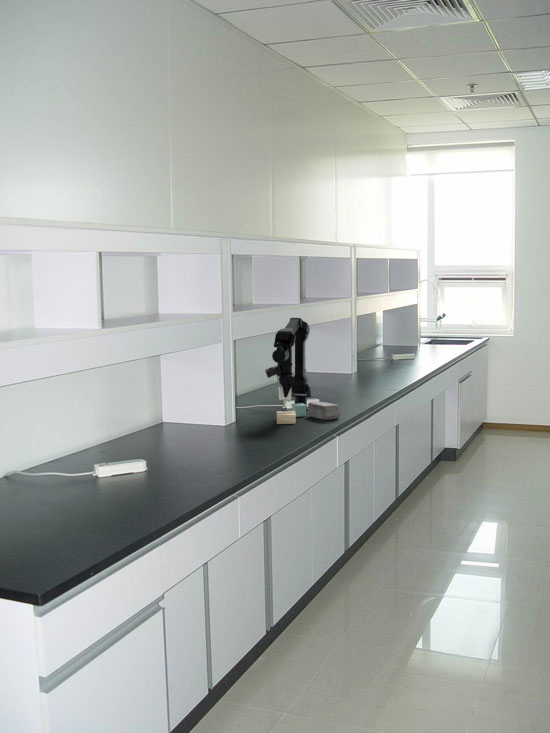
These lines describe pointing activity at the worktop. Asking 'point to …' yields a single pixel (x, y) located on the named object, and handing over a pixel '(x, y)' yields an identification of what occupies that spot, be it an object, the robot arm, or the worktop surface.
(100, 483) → the worktop surface
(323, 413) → the decorative stone
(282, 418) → the maple block
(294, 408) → the teal cube
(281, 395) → the cream cube
